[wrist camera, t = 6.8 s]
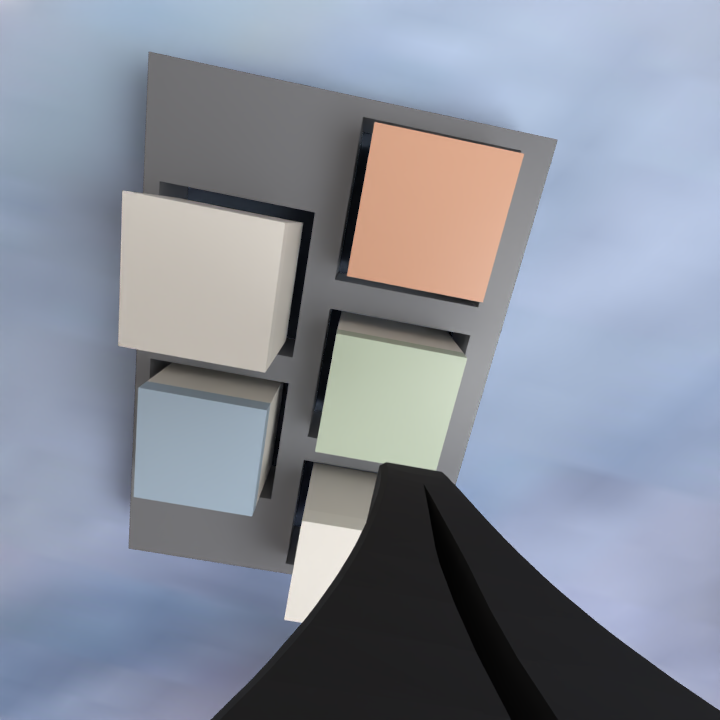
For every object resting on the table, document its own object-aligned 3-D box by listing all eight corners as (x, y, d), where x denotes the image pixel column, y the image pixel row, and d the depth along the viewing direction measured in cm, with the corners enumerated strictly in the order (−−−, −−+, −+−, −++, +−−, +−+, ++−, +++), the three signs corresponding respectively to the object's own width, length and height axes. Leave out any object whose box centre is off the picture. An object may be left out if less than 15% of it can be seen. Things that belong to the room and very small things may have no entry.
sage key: (422, 426, 19) (435, 472, 15) (324, 408, 18) (314, 451, 15) (446, 331, 17) (467, 358, 14) (342, 310, 17) (336, 333, 14)
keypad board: (416, 554, 21) (422, 595, 19) (154, 512, 20) (128, 548, 18) (529, 151, 16) (557, 139, 14) (181, 77, 15) (148, 51, 13)
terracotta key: (458, 286, 17) (482, 302, 13) (350, 264, 17) (346, 275, 13) (488, 168, 16) (524, 153, 12) (372, 144, 15) (374, 121, 12)
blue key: (272, 463, 19) (252, 516, 16) (175, 447, 19) (133, 496, 15) (285, 374, 18) (266, 410, 14) (181, 355, 18) (138, 387, 14)
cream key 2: (394, 562, 19) (401, 637, 16) (298, 547, 19) (283, 619, 15) (415, 480, 18) (429, 541, 14) (313, 462, 18) (302, 520, 14)
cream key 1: (286, 340, 16) (265, 372, 13) (171, 319, 16) (118, 345, 12) (303, 222, 15) (285, 222, 11) (178, 197, 15) (122, 190, 11)
